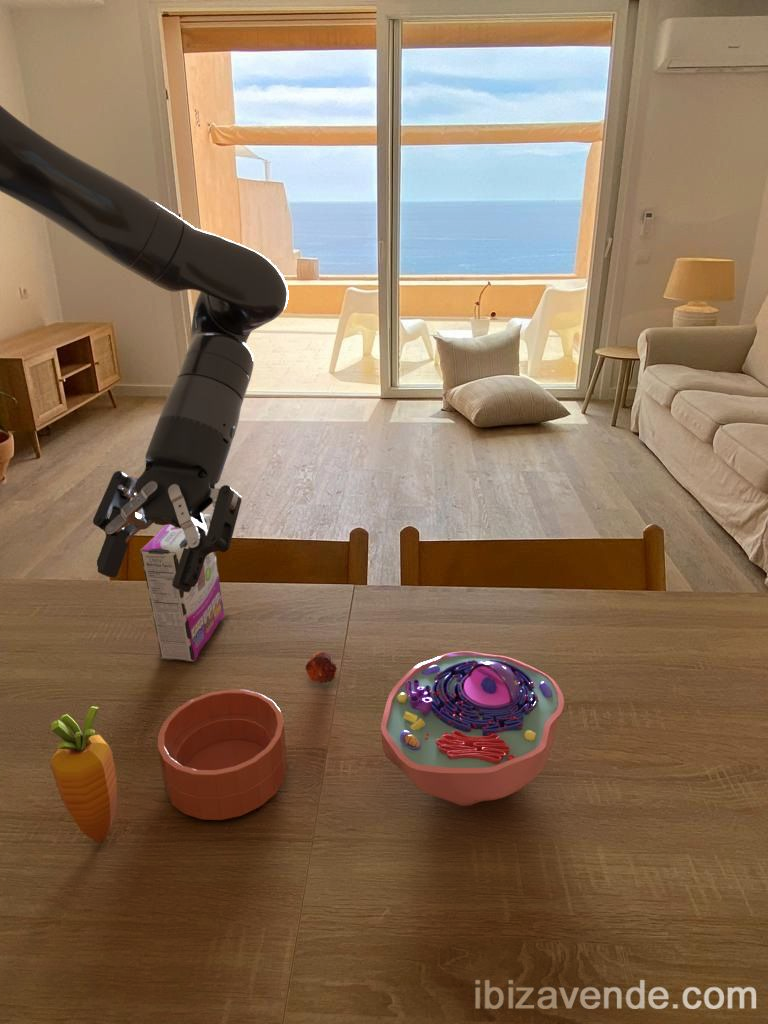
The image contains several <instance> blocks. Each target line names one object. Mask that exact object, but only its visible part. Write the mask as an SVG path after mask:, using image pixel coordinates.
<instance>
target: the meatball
mask: <svg viewBox="0 0 768 1024" xmlns="http://www.w3.org/2000/svg"><path fill="white" fill-rule="evenodd" d="M337 670H338V668H337V666H336V663H335V662H334V661H333V660H332V657H331V656H330V654H329V653H327V652H326V651H319V652H316V653H315V654H313V656H311V658H310V660H309V661H307V663H306V665H305V671H306V674H307V676H308V678H309V679H310V681H311V682H313V683H317V682H319V683H331V682H332V681H333V680H334V679H335V675H336V673H337Z"/></svg>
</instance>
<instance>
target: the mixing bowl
mask: <svg viewBox="0 0 768 1024" xmlns="http://www.w3.org/2000/svg"><path fill="white" fill-rule="evenodd" d="M286 744H287V743H286V735H285V723H284V718H283V713H282V710H280V708H279V707H278V706H277V704H276V703H275V701H273V700H272V699H270V698H269V697H267V696H265V695H263V694H261V693H259V692H255V691H252V690H251V691H250V690H247V689H223V690H217V691H211V692H207V693H205V694H201V695H199V696H197V697H194V698H192V699H190V700H188V701H187V702H184V703H183V704H182V705H180V706H178V707H177V708H175V709H174V711H173V712H171V714H170V715H169V716H168V717H167V718H165V720H164V722H163V723H162V726H161V728H160V729H159V731H158V734H157V751H158V756H159V762H160V767H161V772H162V773H161V774H162V779H163V783H164V789H165V793H166V795H167V797H168V799H169V801H170V804H171V805H172V806H174V808H175V809H177V810H178V811H180V812H181V813H182V814H184V815H187V816H188V817H189V816H190V817H193V818H196V819H199V820H204V821H205V820H208V821H210V820H211V821H224V820H228V819H233V818H237V817H241V816H244V815H246V814H248V813H251V812H252V811H255V810H256V809H258V808H261V806H263V805H264V804H266V802H268V801H269V800H270V799H271V798H272V797H273V796H275V795H276V794H277V792H278V790H279V789H280V787H281V786H282V785H283V783H284V781H285V780H286V775H287V770H288V756H287V746H286Z"/></svg>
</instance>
